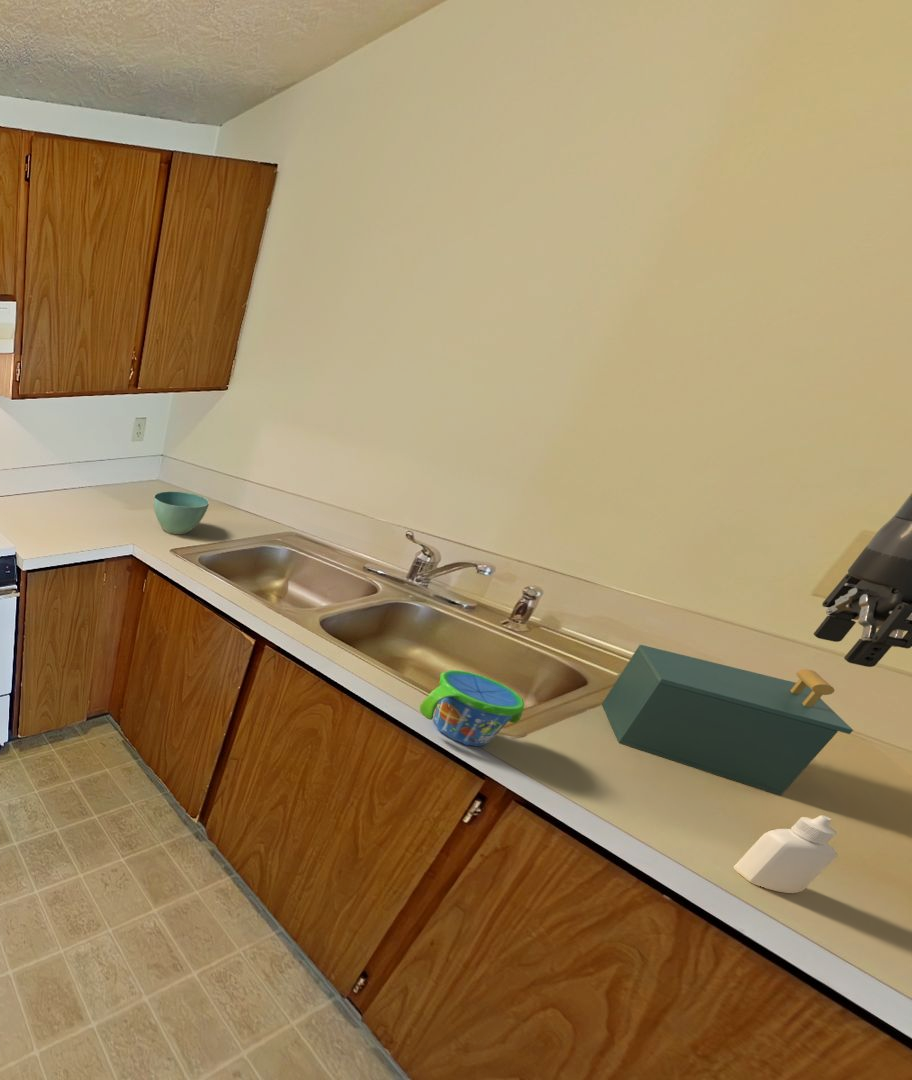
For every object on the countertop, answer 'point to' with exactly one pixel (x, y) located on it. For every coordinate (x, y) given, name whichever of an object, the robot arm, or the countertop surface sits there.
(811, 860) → the eye dropper bottle
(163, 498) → the green bowl
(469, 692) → the snack cup
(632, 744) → the chest
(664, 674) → the lid
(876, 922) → the countertop surface
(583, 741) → the countertop surface
